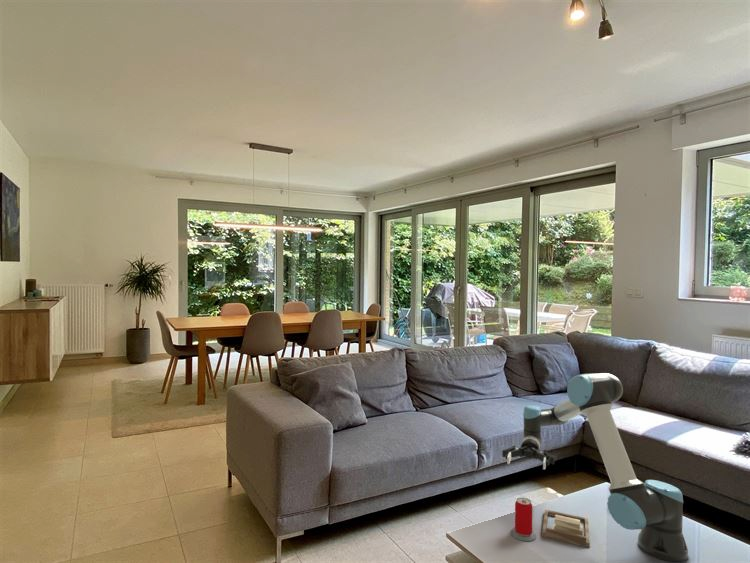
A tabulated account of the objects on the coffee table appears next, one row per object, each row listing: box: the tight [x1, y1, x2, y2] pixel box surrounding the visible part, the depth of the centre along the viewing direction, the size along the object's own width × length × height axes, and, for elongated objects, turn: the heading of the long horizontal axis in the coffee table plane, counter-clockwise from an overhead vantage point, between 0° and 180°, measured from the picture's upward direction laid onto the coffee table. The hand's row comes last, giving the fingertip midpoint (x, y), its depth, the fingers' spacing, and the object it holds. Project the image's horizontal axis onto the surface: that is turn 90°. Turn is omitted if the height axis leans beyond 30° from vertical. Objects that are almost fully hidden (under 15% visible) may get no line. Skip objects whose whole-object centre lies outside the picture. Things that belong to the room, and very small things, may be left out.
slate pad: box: [510, 526, 537, 543], centre depth 170 cm, size 9×9×1 cm
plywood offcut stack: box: [553, 515, 584, 536], centre depth 170 cm, size 4×10×6 cm, turn 64°
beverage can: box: [514, 497, 533, 536], centre depth 170 cm, size 6×6×12 cm
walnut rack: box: [541, 509, 591, 548], centre depth 174 cm, size 19×16×3 cm
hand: (525, 463), depth 179 cm, fingers open, 13 cm apart
